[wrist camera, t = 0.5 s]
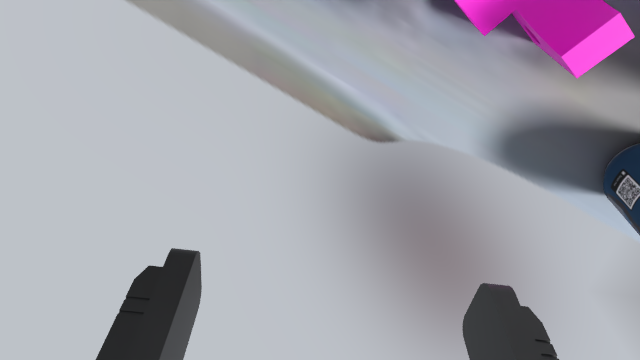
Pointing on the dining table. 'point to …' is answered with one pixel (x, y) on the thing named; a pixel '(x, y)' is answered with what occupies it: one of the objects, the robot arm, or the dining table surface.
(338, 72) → the dining table surface
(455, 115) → the dining table surface
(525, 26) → the toy block
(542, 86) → the dining table surface
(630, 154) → the soda can
